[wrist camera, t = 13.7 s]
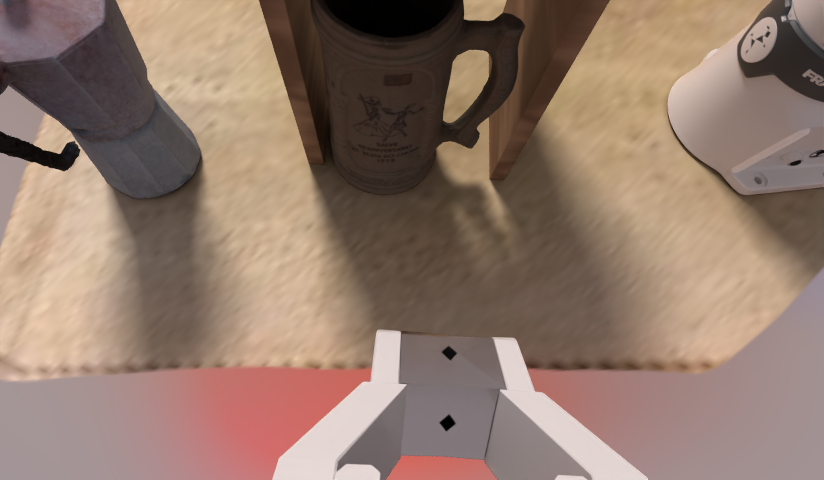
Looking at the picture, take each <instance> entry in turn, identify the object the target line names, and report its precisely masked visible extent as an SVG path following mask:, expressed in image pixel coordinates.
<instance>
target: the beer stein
mask: <svg viewBox="0 0 824 480" xmlns="http://www.w3.org/2000/svg"><path fill="white" fill-rule="evenodd" d="M310 9H311V14H312V18H313V22H314V25H315V27H316V29H317V31H318V35H319V39H320V44H321V50H322V57H323V65H324V73H325V84H326V94H327V102H328V109H329V117H330V125H329V137H330V142H331V151H332V157H333V161H334V163H335V165H336V167H337V169H338V171H339V172H340V173H341V175H342V176H343V177H344V178H345V179H346V180H347V181H348V182H349V183H350V184H352V185H354V186H355V187H357V188H358V189H360V190H363V191H366V192H369V193H375V194H380V195H385V194H397V193H400V192H403V191H406V190H408V189H410V188H412V187H414V186H416V185H417V184H418V183H419V182H420V181H422V180H423V179H424V178H425V176H426V175H427V173H428V172H429V170H430V169H431V167H432V164H433V161H434V156H435V149H436V148H437V147H438V146H439V145H440V144H441V143H443V142H447V141H452V142H456V143H458V144H461V145H463V146H465V147H467V148H473V146H474V145H475V144H476V143H477V141H478V139H479V134H480V133H479V132H478V130H477V127H478V125H479V124H480V123H481V122H483V121H484V120H485V119H486V118H488V117H489V116H490V115H491V114H493V113H494V112H495V111H496V110H497V109H499V108H500V107H501V106H502V104H503V103H504V102H505V101H506V99H507V98H508V97H509V95H510V94H511V92H512V90H513V88H514V85H515V82H516V79H517V73H518V45H519V41H520V38H521V35H522V33H523V31H524V28H525V24H524V23H523V21H522V20H521V19H519V18H517V17H516V16H514V15H513V14H509V13H502V14H501V15H500V16H498V17H497V18H496V19H494V20H492V21H468V20H464V5H463V0H310ZM467 50H484V51H487V52H488V53H489V55H490V57H491V60H492V67H491V71H490V75H489V78H488V81H487V83H486V84H485V86H484V88H483V90H482V92H481V93H480V95H479V96H478V98H477V99H476V100H475V101H474V103H473V104H472V105H471V106H470V107H469V109H468V110H467V111H466V112H465V113H464V114H463V115H462V116H461V117H460V118H458V119H457V120H456V121H455V122H453V123H446V122H444V121H443V110H444V105H445V99H446V94H447V90H448V85H449V81H450V75H451V69H452V63H453V61H454V59H455V58H456V57H457V55H459V54H461V53H463V52H465V51H467Z"/></svg>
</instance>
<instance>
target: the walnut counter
mask: <svg viewBox="0 0 824 480" xmlns="http://www.w3.org/2000/svg"><path fill="white" fill-rule="evenodd" d="M609 1H610V0H507V2H506V5H505V8H504V11H503V13H509V14H513V15H514V16H516V17H517V18H519V19H521V20H522V21H523V23H524V24H525V28H524V31H523V33H522V35H521V38H520V41H519V45H518V73H517V79H516V82H515V85H514V88H513V90H512V92H511V94H510V95H509V97H508V98H507V99H506V101H505V102H504V103H503V104H502V106H501V107H500V108H499V109H497V110H496V111H495V112H494V113H493V114H491V115H490V116H489V154H490V179H497V180H504V179H505V177H506V176H507V174H508V172H509V171H510V169H511V167H512V166H513V164H514V162H515V160H516V159H517V157H518V155H519V154H520V152H521V150H522V149H523V147H524V145H525V143H526V142H527V140H528V138H529V137H530V135H531V133H532V132H533V130H534V128H535V127H536V125H537V123H538V121H539V120H540V118H541V116H542V115H543V113H544V111H545V110H546V108H547V106H548V104H549V103H550V101H551V99H552V98H553V96H554V94H555V93H556V91H557V89H558V87H559V86H560V84H561V82H562V81H563V79H564V77H565V76H566V74H567V72H568V70H569V69H570V67H571V65H572V64H573V62H574V60H575V59H576V57H577V55H578V54H579V52H580V50H581V48H582V47H583V45H584V43H585V42H586V40H587V38H588V37H589V35H590V33H591V31H592V30H593V28H594V26H595V25H596V23H597V21H598V20H599V18H600V16H601V14H602V13H603V11H604V9H605V8H606V6H607V4H608V3H609ZM259 2H260V5H261V8H262V12H263V15H264V18H265V21H266V25H267V28H268V31H269V35H270V38H271V41H272V44H273V48H274V51H275V54H276V57H277V61H278V64H279V67H280V71H281V74H282V77H283V80H284V84H285V87H286V90H287V93H288V97H289V100H290V103H291V107H292V110H293V113H294V116H295V120H296V123H297V126H298V129H299V133H300V136H301V139H302V142H303V146H304V149H305V152H306V156H307V159H308V162H309V164H320V165H324V160H325V153H326V146H327V139H328V132H329V125H330V117H329V109H328V102H327V94H326V84H325V73H324V65H323V57H322V50H321V44H320V39H319V35H318V31H317V29H316V27H315V25H314V22H313V18H312V14H311V9H310V0H259ZM491 67H492V60H491V57H490V55H489V75H490V71H491Z"/></svg>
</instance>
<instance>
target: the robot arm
mask: <svg viewBox="0 0 824 480" xmlns="http://www.w3.org/2000/svg"><path fill="white" fill-rule="evenodd" d="M668 114H669V119H670V122H671V124H672V127H673V129H674V131H675V133H676V135H677V136H678V138H679V139H680V141H681V142H682V143H683V144H684V146H685V147H686V148H687V149H688V150H689V151H690V152H691V153H692V154H693V155H695V156H696V157H697V158H698V159H700V160H701V161H702V162H704V163H706V164H707V165H709V166H710V167H712V168H713V169H715V170H716V171H718V172H719V173H720V174H721V175H722V176H723V177H724V179H725V180H726V181H727V182H728V183H729V184H730V185H731V186H732V188H734V189H735V190H736V191H737V192H738V193H740V194H743V195H753V194H763V193H773V192H782V191H792V190H801V189H811V188H820V187H824V0H772V1H771V2H770V3H769V4H768V5H767V6H766V7H765V8H764V9H763V10H762V11H761V12H760V14H759V15H758V17H757V18H756V19H755V20H754V21H752V22H751V23H750V24H749V25H748V26H746V27H745V28H744V29H743V30H741V31H740V32H739V33H738V34H737V35H735V36H734V37H733V38H732V39H731V40H729V41H728V42H727V43H726V44H725V45H723V46H722V47H721V48H720V49H714V50H712V51H711V52H710V53H709V54H707V55H706V56H705V57H704V59H703V60H702V61H701V63H700V65H698V66H697V67H695V68H694V69H692V70H691V71H689V72H688V73H686V74H685V75H683V76H682V77H680V78H679V79H678V80H677V81H676V82H675V84H674V85H673V87H672V88H671V91H670V93H669V97H668ZM401 455H409V456H412V455H413V456H445V457H457V458H469V459H481V460H485V463H486V465H487V466H488V467H489V469H490V470H491V471H492V473H493V474H494V475H495V477H496V478H497V479H498V480H649V479H648V478H647V477H646V476H645V475H643V474H642V473H641V472H640V471H638V470H637V469H636V468H635V467H633V466H632V465H631V464H630V463H628V462H627V461H626V460H625V459H624V458H622V457H621V456H620V455H619V454H617V453H616V452H615V451H614V450H613V449H611V448H610V447H609V446H608V445H607V444H605V443H604V442H603V441H601V440H600V439H599V438H598V437H597V436H596V435H594V434H593V433H592V432H591V431H589V430H588V429H587V428H586V427H585V426H583V425H582V424H581V423H580V422H578V421H577V420H576V419H575V418H574V417H572V416H571V415H570V414H569V413H567V412H566V411H565V410H564V409H562V408H561V407H560V406H559V405H557V404H556V403H555V402H554V401H553V400H551V399H550V398H549V397H548V396H547V395H545V394H544V393H543V392H535V389H534V386H533V383H532V381H531V378H530V375H529V372H528V370H527V367H526V364H525V361H524V359H523V356H522V353H521V350H520V348H519V345H518V342H517V340H516V339H515V338H506V337H491V338H486V337H469V336H451V335H443V334H431V333H419V332H407V331H401V333H400V331H394V330H379V329H378V330H377V332H376V339H375V347H374V355H373V364H372V372H371V381H370V382H362V383H361V384H360V385H359V386H358V387H357V388H356V389H355V390H354V391H352V392H351V393H350V394H349V395H348V396H347V397H346V398H345V399H344V400H342V401H341V402H340V403H339V404H338V405H337V406H336V407H335V408H334V409H333V410H331V411H330V412H329V413H328V414H327V415H326V416H325V417H324V418H323V419H322V420H320V421H319V422H318V423H317V424H316V425H315V426H314V427H313V428H312V429H311V430H310V431H308V432H307V433H306V434H305V435H304V436H303V437H302V438H301V439H300V440H298V441H297V442H296V443H295V444H294V445H293V446H292V447H291V448H290V449H289V450H287V451H286V452H285V453H284V454H283V455H282V456H281V457H280V458H279V460H278V464H277V467H276V470H275V473H274V476H273V479H272V480H386V479H387V477H388V476H389V474H390V473H391V471H392V469H393V468H394V467H395V465H396V464H397V462H398V461H399V459H400V457H401Z"/></svg>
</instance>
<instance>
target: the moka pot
mask: <svg viewBox="0 0 824 480" xmlns="http://www.w3.org/2000/svg"><path fill="white" fill-rule="evenodd" d="M8 85H9V86H10V87H11V88H13V89H14V90H15V91H17V92H18V93H20V94H21V95H22V96H24V97H25V98H26V99H28V100H29V101H30V102H32V103H33V104H34V105H36V106H37V107H38V108H40V109H41V110H43V111H44V112H45V113H47V114H49V115H50V116H52V117H53V118H55V119H56V120H58V121H59V122H60V123H61V124H62V125H63V126H65V127H66V128H67V129H68V130H69V131H71V132H72V134H73V136H74V137H75V139H76V140H77V142H78V143H79V145H80V146H81V147H82V149H83V150H84V151H85V153H86V154H87V155H88V157H89V158H90V160H91V161H92V162H93V164H94V165H95V166H96V167H97V169H98V170H99V172H100V173H101V174H102V176H103V177H104V179H105V180H106V181H107V183H108V184H109V185H110V186H112V187H114V188H115V189H117V190H119V191H121V192H122V193H124V194H126V195H128V196H131V197H132V198H134V199H145V198H153V197H159V196H162V195H164V194H168V193H170V192H173V191H174V190H176V189H177V188H179V187H180V186H182V185H183V184H184V183H186V182H187V181H188V180H189V179H190V178H191V177H192V176H193V174H194V173H195V171H196V168H197V165H198V162H199V160H200V148H199V146H198V143H197V141H196V139H195V137H194V135H193V133H192V132H191V130H190V129H189V128H188V127H187V126H186V124H185V123H184V122H183V121H182V120H181V119H180V118H179V117H178V115H177V114H176V113H175V112H174V111H173V110H172V109H171V108H170V106H169V105H168V104H167V103H166V102H165V101H164V100H163V99H162V97H161V96H160V95H159V94H158V93H157V92H156V91H155V90H154V89H153V87H152V85H151V84H150V82H149V81H148V79H147V68H146V65H145V63H144V61H143V59H142V56H141V54H140V52H139V50H138V48H137V46H136V43H135V41H134V39H133V37H132V35H131V33H130V31H129V28H128V26H127V24H126V21H125V19H124V17H123V15H122V13H121V11H120V9H119V7H118V4H117V2H116V0H0V94H2V93H3V92H4V91H5V89H6V88H7V86H8ZM79 152H80V149H78V145H77V144H75V141H73V142H69V143H67V144H66V146H65V147H64V149H63V151H62V153H61V154H57V153H54V152H50V151H46V150H42V149H41V148H39V147H36V146H34V145H33V144H30V143H29V142H26V141H22V140H20V139H18V138H15V137H11V136H9V135H8V136H7V135H6V134H4V133H3V132H1V131H0V153H4V154H7V155H8V156H13V157H19V158H22V159H24V160H27V161H30V162H36V163H38V164H41V165H43V166H48V167H49V168H55V169H58V170H62V171H66V170H68V169H69V168H70V167H71V166H72V165H73V163H74V162H75V159H76V158H77V157H78V156H79Z"/></svg>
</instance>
